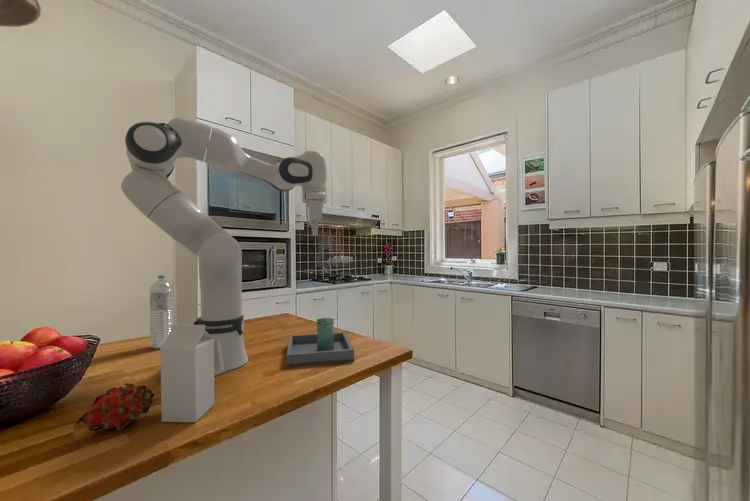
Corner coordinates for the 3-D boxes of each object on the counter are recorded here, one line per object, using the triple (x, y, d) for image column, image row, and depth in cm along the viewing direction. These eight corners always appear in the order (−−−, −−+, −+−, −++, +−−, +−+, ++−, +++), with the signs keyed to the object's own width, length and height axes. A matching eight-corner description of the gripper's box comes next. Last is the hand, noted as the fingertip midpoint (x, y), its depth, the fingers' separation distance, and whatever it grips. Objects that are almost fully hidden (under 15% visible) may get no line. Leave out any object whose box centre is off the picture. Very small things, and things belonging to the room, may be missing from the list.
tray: (286, 367, 91) (286, 355, 91) (289, 345, 110) (289, 335, 110) (354, 361, 95) (354, 349, 95) (345, 341, 115) (345, 331, 115)
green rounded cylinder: (317, 353, 100) (317, 322, 100) (316, 347, 105) (316, 318, 105) (334, 351, 101) (334, 321, 101) (333, 346, 107) (332, 317, 106)
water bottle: (157, 343, 112) (156, 274, 111) (177, 342, 113) (176, 274, 112) (146, 350, 105) (144, 276, 105) (167, 349, 106) (166, 276, 105)
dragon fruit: (160, 420, 66) (84, 457, 57) (148, 388, 70) (75, 418, 61) (161, 399, 62) (79, 434, 53) (147, 366, 66) (69, 394, 57)
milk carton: (195, 423, 62) (194, 329, 62) (161, 422, 63) (159, 329, 62) (214, 404, 70) (213, 320, 69) (183, 404, 70) (182, 320, 69)
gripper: (305, 201, 122) (305, 236, 123) (306, 193, 103) (306, 234, 103) (321, 201, 124) (321, 236, 124) (325, 193, 104) (325, 234, 104)
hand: (314, 235), depth 113 cm, fingers open, 8 cm apart
